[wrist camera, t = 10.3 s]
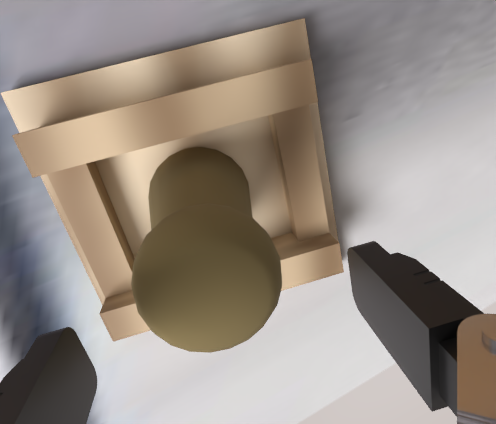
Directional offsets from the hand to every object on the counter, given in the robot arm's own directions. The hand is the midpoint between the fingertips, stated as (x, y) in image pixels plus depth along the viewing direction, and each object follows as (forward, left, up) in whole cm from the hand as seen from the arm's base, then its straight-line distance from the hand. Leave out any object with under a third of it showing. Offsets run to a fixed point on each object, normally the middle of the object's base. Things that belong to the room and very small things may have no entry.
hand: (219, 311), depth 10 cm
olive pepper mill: (0, 0, -12) cm, 12 cm away
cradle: (0, 0, -13) cm, 13 cm away
